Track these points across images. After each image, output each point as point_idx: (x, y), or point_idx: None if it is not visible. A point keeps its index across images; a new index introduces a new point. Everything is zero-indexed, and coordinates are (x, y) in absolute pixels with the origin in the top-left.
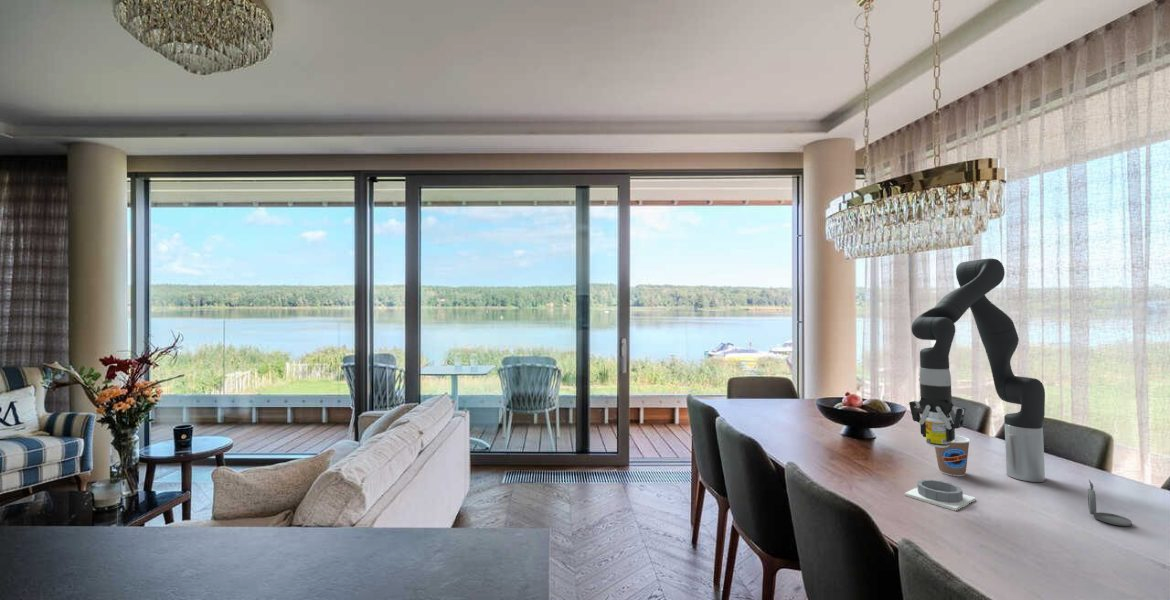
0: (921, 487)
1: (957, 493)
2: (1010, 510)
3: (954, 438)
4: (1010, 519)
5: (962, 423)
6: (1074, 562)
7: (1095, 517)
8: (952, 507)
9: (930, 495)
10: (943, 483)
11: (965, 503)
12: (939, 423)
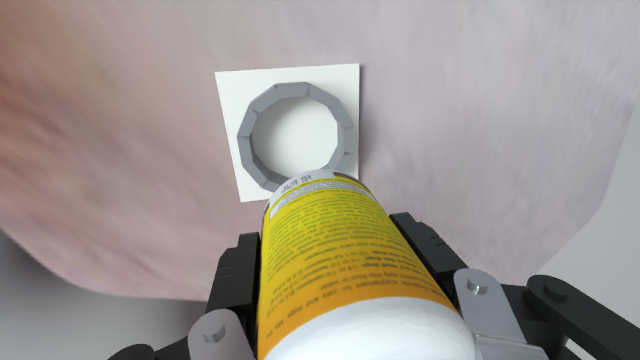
0: (273, 190)
1: (352, 155)
2: (433, 61)
3: (428, 229)
4: (442, 127)
5: (602, 316)
6: (527, 220)
7: None
8: None
9: None
10: (286, 97)
11: (358, 135)
12: None
